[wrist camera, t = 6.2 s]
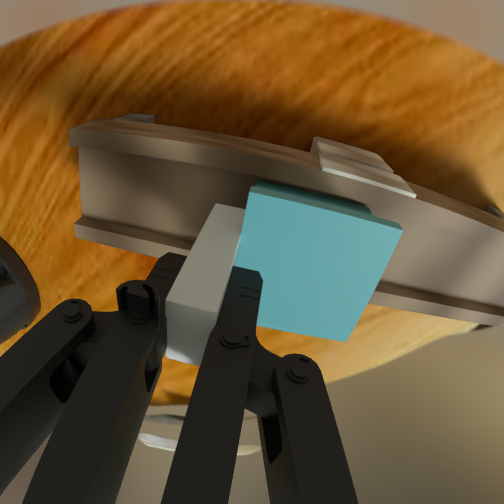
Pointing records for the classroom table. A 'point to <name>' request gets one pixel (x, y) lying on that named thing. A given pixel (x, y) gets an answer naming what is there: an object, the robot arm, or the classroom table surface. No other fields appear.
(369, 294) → the rider
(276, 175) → the wooden bench
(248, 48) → the classroom table surface
